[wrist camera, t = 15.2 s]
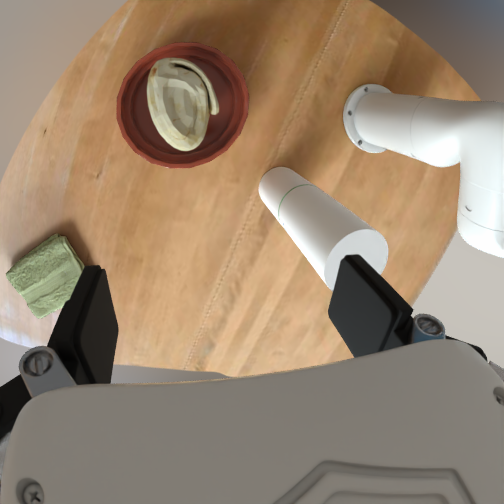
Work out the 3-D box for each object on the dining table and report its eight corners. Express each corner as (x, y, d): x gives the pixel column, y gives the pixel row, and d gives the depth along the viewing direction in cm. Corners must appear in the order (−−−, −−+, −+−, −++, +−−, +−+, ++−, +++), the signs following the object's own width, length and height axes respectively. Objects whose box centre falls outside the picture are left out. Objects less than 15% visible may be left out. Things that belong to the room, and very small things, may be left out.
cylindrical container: (270, 215, 50) (335, 307, 29) (251, 180, 47) (313, 254, 25) (306, 195, 50) (393, 271, 28) (290, 159, 46) (380, 215, 25)
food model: (152, 81, 36) (126, 62, 18) (197, 67, 36) (206, 38, 19) (170, 141, 41) (158, 169, 23) (213, 128, 41) (235, 145, 24)
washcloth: (103, 285, 49) (99, 295, 47) (42, 314, 49) (37, 324, 46) (64, 226, 43) (58, 234, 40) (5, 265, 42) (-2, 274, 40)
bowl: (244, 52, 37) (253, 45, 32) (236, 160, 45) (244, 168, 40) (128, 53, 33) (120, 46, 28) (125, 162, 41) (117, 171, 36)
